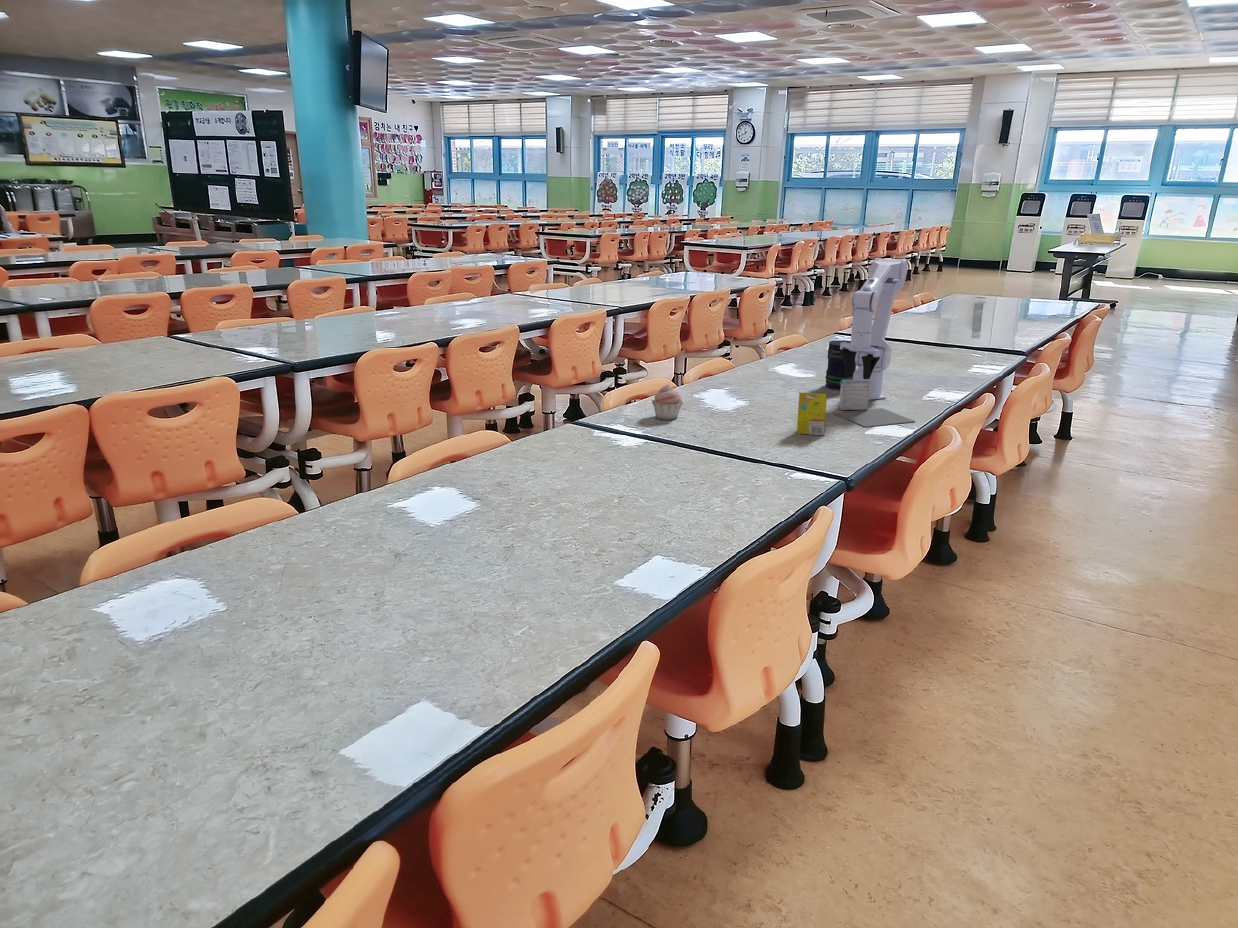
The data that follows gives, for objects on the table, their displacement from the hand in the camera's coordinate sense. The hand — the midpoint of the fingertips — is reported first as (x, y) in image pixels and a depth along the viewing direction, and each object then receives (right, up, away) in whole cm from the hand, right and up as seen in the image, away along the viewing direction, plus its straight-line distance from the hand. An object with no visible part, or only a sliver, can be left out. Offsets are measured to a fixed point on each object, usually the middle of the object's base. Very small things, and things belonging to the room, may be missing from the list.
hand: (857, 376), depth 252 cm
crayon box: (-20, -18, -24) cm, 36 cm away
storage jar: (+2, -1, +28) cm, 28 cm away
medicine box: (-1, -10, 0) cm, 10 cm away
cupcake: (-58, -13, -9) cm, 60 cm away
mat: (+2, -13, -9) cm, 16 cm away
